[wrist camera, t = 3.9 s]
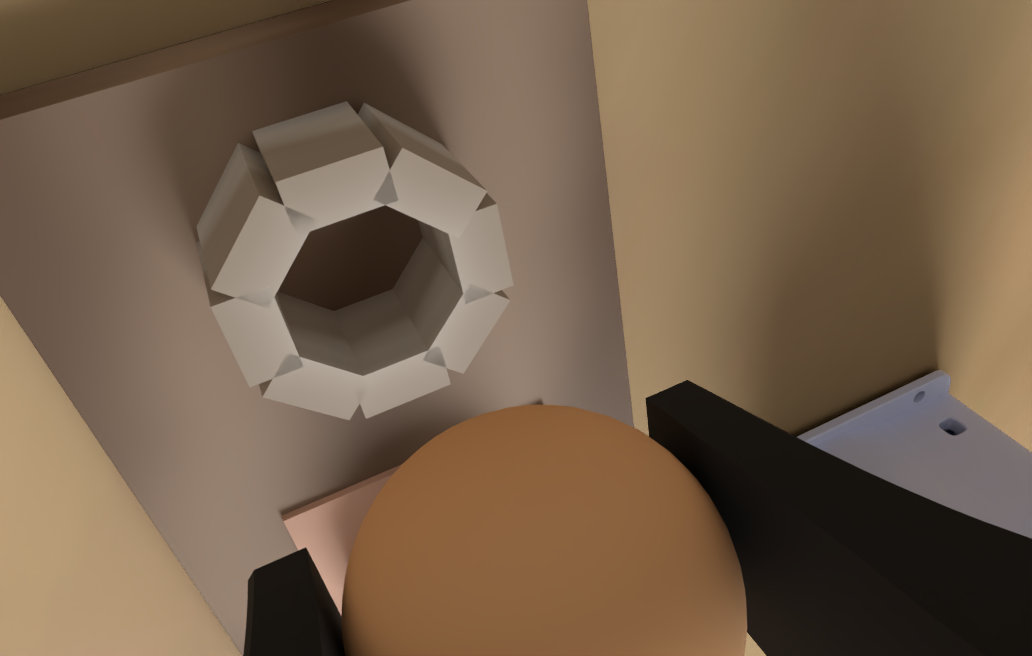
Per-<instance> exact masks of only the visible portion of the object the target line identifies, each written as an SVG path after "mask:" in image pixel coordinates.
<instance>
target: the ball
mask: <svg viewBox="0 0 1032 656" xmlns="http://www.w3.org/2000/svg"><path fill="white" fill-rule="evenodd" d="M746 635H747V609H746V595H745V587H744V582H743V577H742V572H741V566H740V563H739V560H738V557H737V554H736V551H735V548H734V545H733V542H732V539H731V537H730V534H729V531H728V529H727V527H726V525H725V523H724V521H723V519H722V517H721V515H720V514H719V512H718V510H717V508H716V506H715V505H714V503H713V501H712V500H711V498H710V496H709V495H708V494H707V492H706V491H705V490H704V488H703V487H702V486H701V484H700V483H699V481H698V480H697V479H696V478H695V477H694V476H693V474H692V473H691V472H690V471H689V470H688V469H687V468H686V467H685V466H684V465H683V464H682V463H681V462H680V461H679V460H678V459H677V458H676V457H675V456H674V455H673V454H672V453H671V452H670V451H668V450H667V449H665V448H664V447H663V446H661V445H660V444H658V443H657V442H656V441H654V440H653V439H651V438H650V437H648V436H647V435H645V434H644V433H643V432H641V431H640V430H637V429H635V428H633V427H631V426H629V425H627V424H625V423H623V422H621V421H618V420H616V419H614V418H612V417H609V416H607V415H603V414H599V413H596V412H592V411H588V410H584V409H580V408H576V407H570V406H560V405H522V406H515V407H508V408H504V409H500V410H496V411H492V412H488V413H484V414H481V415H479V416H476V417H473V418H470V419H468V420H465V421H463V422H461V423H459V424H457V425H455V426H453V427H451V428H449V429H447V430H446V431H444V432H442V433H441V434H439V435H437V436H436V437H434V438H433V439H432V440H430V441H429V442H427V443H426V444H425V445H423V446H422V447H421V448H420V449H419V450H417V451H416V452H415V453H414V454H413V455H412V456H411V457H410V458H409V459H407V460H406V461H405V462H404V463H403V464H402V465H401V466H400V467H399V468H398V469H397V471H396V472H395V473H394V474H393V475H392V476H391V477H390V478H389V479H388V481H387V482H386V484H385V485H384V486H383V488H382V489H381V491H380V492H379V493H378V495H377V497H376V498H375V500H374V502H373V504H372V505H371V507H370V509H369V511H368V512H367V514H366V516H365V518H364V520H363V522H362V523H361V526H360V528H359V531H358V534H357V536H356V539H355V541H354V545H353V548H352V551H351V554H350V557H349V561H348V565H347V570H346V574H345V580H344V588H343V595H342V639H343V645H344V651H345V656H744V653H745V644H746Z"/></svg>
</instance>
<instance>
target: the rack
mask: <svg viewBox="0 0 1032 656" xmlns="http://www.w3.org/2000/svg"><path fill="white" fill-rule="evenodd" d="M0 296H1V297H2V299H3V300H4V302H5V303H6V305H7V306H8V308H9V309H10V311H11V312H12V314H13V315H14V317H15V318H16V320H17V321H18V323H19V324H20V326H21V327H22V329H23V330H24V332H25V333H26V335H27V336H28V337H29V339H30V340H31V342H32V343H33V345H34V346H35V348H36V349H37V351H38V352H39V354H40V355H41V357H42V358H43V360H44V361H45V363H46V364H47V366H48V367H49V369H50V370H51V372H52V373H53V375H54V376H55V378H56V379H57V381H58V382H59V384H60V385H61V387H62V388H63V390H64V391H65V393H66V394H67V396H68V397H69V399H70V400H71V401H72V403H73V404H74V406H75V407H76V409H77V410H78V412H79V413H80V415H81V416H82V418H83V419H84V421H85V422H86V424H87V425H88V427H89V428H90V430H91V431H92V433H93V434H94V436H95V437H96V439H97V440H98V442H99V443H100V445H101V446H102V448H103V449H104V451H105V452H106V454H107V455H108V457H109V458H110V460H111V461H112V463H113V464H114V466H115V467H116V468H117V470H118V471H119V473H120V474H121V476H122V477H123V479H124V480H125V482H126V483H127V485H128V486H129V488H130V489H131V491H132V492H133V494H134V495H135V497H136V498H137V500H138V501H139V503H140V504H141V506H142V507H143V509H144V510H145V512H146V513H147V515H148V516H149V518H150V519H151V521H152V522H153V524H154V525H155V527H156V528H157V530H158V531H159V532H160V534H161V535H162V537H163V538H164V540H165V541H166V543H167V544H168V546H169V547H170V549H171V550H172V552H173V553H174V555H175V556H176V558H177V559H178V561H179V562H180V564H181V565H182V567H183V568H184V570H185V571H186V573H187V574H188V576H189V577H190V579H191V580H192V582H193V583H194V585H195V586H196V588H197V589H198V591H199V592H200V594H201V595H202V597H203V598H204V599H205V601H206V602H207V604H208V605H209V607H210V608H211V610H212V611H213V613H214V614H215V616H216V617H217V619H218V620H219V622H220V623H221V625H222V626H223V628H224V629H225V631H226V632H227V634H228V635H229V637H230V638H231V640H232V641H233V643H234V644H235V646H236V647H237V649H238V650H239V652H240V653H241V655H242V656H243V653H244V643H245V632H246V618H247V600H248V579H249V578H250V576H251V574H252V573H253V571H254V570H255V569H257V568H259V567H262V566H264V565H266V564H269V563H271V562H273V561H275V560H278V559H280V558H282V557H285V556H287V555H289V554H291V553H294V552H296V551H298V550H301V549H303V548H305V547H306V548H307V550H308V552H309V554H310V556H311V558H312V560H313V562H314V563H315V565H316V567H317V569H318V571H319V573H320V575H321V577H322V579H323V581H324V583H325V585H326V587H327V589H328V591H329V593H330V595H331V597H332V599H333V601H334V603H335V605H336V607H337V609H338V611H339V612H340V614H341V616H342V595H343V588H344V580H345V574H346V570H347V565H348V561H349V557H350V554H351V551H352V548H353V545H354V541H355V539H356V536H357V534H358V531H359V528H360V526H361V523H362V522H363V520H364V518H365V516H366V514H367V512H368V511H369V509H370V507H371V505H372V504H373V502H374V500H375V498H376V497H377V495H378V493H379V492H380V491H381V489H382V488H383V486H384V485H385V484H386V482H387V481H388V479H389V478H390V477H391V476H392V475H393V474H394V473H395V472H396V471H397V469H398V468H399V467H400V466H401V465H402V464H403V463H404V462H405V461H406V460H407V459H409V458H410V457H411V456H412V455H413V454H414V453H415V452H416V451H417V450H419V449H420V448H421V447H422V446H423V445H425V444H426V443H427V442H429V441H430V440H432V439H433V438H434V437H436V436H437V435H439V434H441V433H442V432H444V431H446V430H447V429H449V428H451V427H453V426H455V425H457V424H459V423H461V422H463V421H465V420H468V419H470V418H473V417H476V416H479V415H481V414H484V413H488V412H492V411H496V410H500V409H504V408H508V407H515V406H522V405H560V406H570V407H576V408H580V409H584V410H588V411H592V412H596V413H599V414H603V415H607V416H609V417H612V418H614V419H616V420H618V421H621V422H623V423H625V424H627V425H629V426H631V427H633V428H634V424H633V415H632V406H631V397H630V388H629V379H628V369H627V360H626V351H625V342H624V333H623V324H622V315H621V306H620V297H619V287H618V278H617V269H616V260H615V251H614V242H613V233H612V224H611V214H610V205H609V196H608V187H607V178H606V169H605V160H604V151H603V142H602V132H601V123H600V114H599V105H598V96H597V87H596V78H595V69H594V59H593V50H592V41H591V32H590V23H589V14H588V5H587V0H333V1H329V2H326V3H322V4H319V5H315V6H312V7H308V8H305V9H301V10H298V11H294V12H291V13H287V14H284V15H280V16H277V17H273V18H270V19H266V20H263V21H259V22H256V23H252V24H249V25H245V26H242V27H238V28H235V29H231V30H228V31H224V32H221V33H217V34H214V35H210V36H207V37H203V38H200V39H196V40H193V41H189V42H186V43H182V44H178V45H175V46H171V47H168V48H164V49H161V50H157V51H154V52H150V53H147V54H143V55H140V56H136V57H133V58H129V59H126V60H122V61H119V62H115V63H112V64H108V65H105V66H101V67H98V68H94V69H91V70H87V71H84V72H80V73H77V74H73V75H70V76H66V77H63V78H59V79H56V80H52V81H49V82H45V83H42V84H38V85H35V86H31V87H28V88H24V89H21V90H17V91H14V92H10V93H7V94H3V95H0Z"/></svg>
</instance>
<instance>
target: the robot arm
mask: <svg viewBox="0 0 1032 656" xmlns="http://www.w3.org/2000/svg"><path fill="white" fill-rule="evenodd" d="M950 382H951V377H950V376H949V375H948V374H947V373H945V372H944V371H942V370H938V371H934V372H932V373H930V374H928V375H926V376H924V377H922V378H919V379H917V380H915V381H913V382H911V383H909V384H907V385H905V386H903V387H900V388H898V389H896V390H894V391H892V392H890V393H888V394H886V395H884V396H881V397H879V398H877V399H875V400H873V401H871V402H869V403H867V404H865V405H862V406H860V407H858V408H856V409H854V410H852V411H850V412H848V413H846V414H843V415H841V416H839V417H837V418H835V419H833V420H831V421H829V422H827V423H824V424H822V425H820V426H818V427H816V428H814V429H812V430H810V431H808V432H805V433H803V434H801V435H799V436H797V437H795V436H793V435H791V434H789V433H788V432H786V431H784V430H782V429H780V428H778V427H776V426H774V425H772V424H770V423H768V422H766V421H764V420H763V419H761V418H759V417H757V416H755V415H753V414H751V413H749V412H747V411H745V410H744V409H742V408H740V407H738V406H736V405H734V404H732V403H730V402H729V401H727V400H725V399H723V398H721V397H719V396H717V395H715V394H713V393H712V392H710V391H708V390H706V389H704V388H702V387H700V386H698V385H696V384H694V383H692V382H690V381H688V380H686V381H684V382H682V383H680V384H677V385H675V386H673V387H670V388H668V389H666V390H664V391H661V392H659V393H657V394H654V395H652V396H650V397H648V398H646V407H647V417H648V428H649V437H650V438H651V439H653V440H654V441H656V442H657V443H658V444H660V445H661V446H663V447H664V448H665V449H667V450H668V451H670V452H671V453H672V454H673V455H674V456H675V457H676V458H677V459H678V460H679V461H680V462H681V463H682V464H683V465H684V466H685V467H686V468H687V469H688V470H689V471H690V472H691V473H692V474H693V476H694V477H695V478H696V479H697V480H698V481H699V483H700V484H701V486H702V487H703V488H704V490H705V491H706V492H707V494H708V495H709V496H710V498H711V500H712V501H713V503H714V505H715V506H716V508H717V510H718V512H719V514H720V515H721V517H722V519H723V521H724V523H725V525H726V527H727V529H728V531H729V534H730V537H731V539H732V542H733V545H734V548H735V551H736V554H737V557H738V560H739V563H740V566H741V572H742V577H743V582H744V587H745V595H746V609H747V632H748V634H749V635H750V636H751V637H752V639H753V640H754V641H755V642H756V643H757V645H758V646H759V647H760V648H761V649H762V651H763V652H764V653H765V654H766V656H1032V452H1030V451H1029V450H1028V449H1026V448H1025V447H1023V446H1022V445H1021V444H1019V443H1018V442H1016V441H1015V440H1013V439H1012V438H1011V437H1009V436H1008V435H1006V434H1005V433H1004V432H1002V431H1001V430H999V429H998V428H997V427H995V426H994V425H992V424H991V423H990V422H988V421H987V420H985V419H984V418H983V417H981V416H980V415H978V414H977V413H975V412H974V411H973V410H971V409H970V408H968V407H967V406H966V405H964V404H963V403H961V402H960V401H959V400H957V399H956V398H954V397H953V396H952V395H950V394H948V392H949V387H950ZM243 656H345V651H344V645H343V639H342V616H341V614H340V612H339V611H338V609H337V607H336V605H335V603H334V601H333V599H332V597H331V595H330V593H329V591H328V589H327V587H326V585H325V583H324V581H323V579H322V577H321V575H320V573H319V571H318V569H317V567H316V565H315V563H314V562H313V560H312V558H311V556H310V554H309V552H308V550H307V548H306V547H305V548H303V549H301V550H298V551H296V552H294V553H291V554H289V555H287V556H285V557H282V558H280V559H278V560H275V561H273V562H271V563H269V564H266V565H264V566H262V567H259V568H257V569H255V570H254V571H253V573H252V574H251V576H250V578H249V579H248V600H247V618H246V632H245V643H244V653H243Z"/></svg>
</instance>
